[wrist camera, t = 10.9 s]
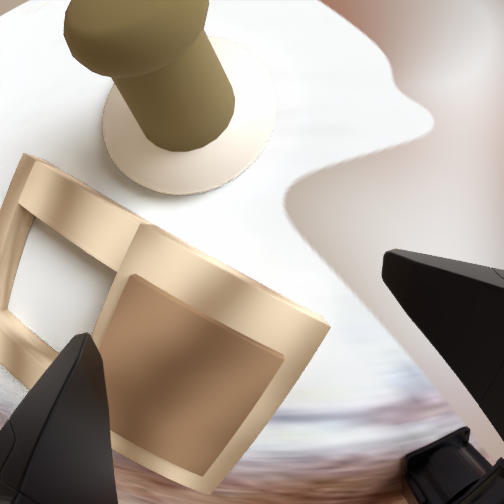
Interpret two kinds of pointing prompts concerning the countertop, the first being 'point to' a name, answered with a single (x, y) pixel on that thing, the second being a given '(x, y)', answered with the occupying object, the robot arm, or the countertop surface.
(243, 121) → the ceramic pad
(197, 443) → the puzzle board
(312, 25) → the countertop surface
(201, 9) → the cork
